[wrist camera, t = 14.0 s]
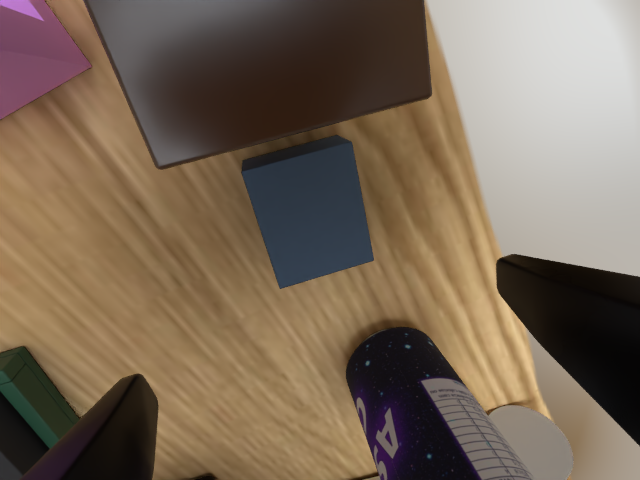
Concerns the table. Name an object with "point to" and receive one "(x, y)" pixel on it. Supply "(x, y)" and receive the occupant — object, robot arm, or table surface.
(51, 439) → the frame
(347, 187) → the blue pad
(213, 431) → the table surface
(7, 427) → the charcoal pad
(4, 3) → the bracket
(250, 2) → the brown upright block
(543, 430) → the figurine
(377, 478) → the cosmetic box
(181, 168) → the table surface
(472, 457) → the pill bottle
